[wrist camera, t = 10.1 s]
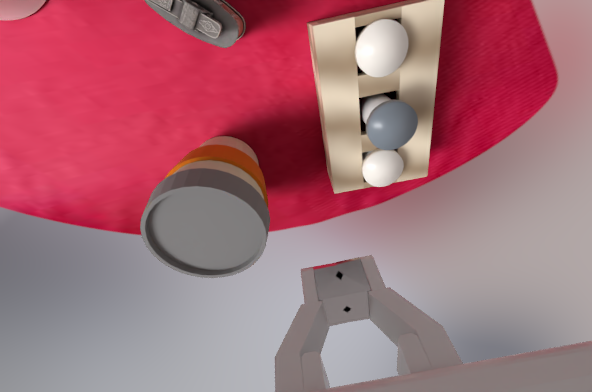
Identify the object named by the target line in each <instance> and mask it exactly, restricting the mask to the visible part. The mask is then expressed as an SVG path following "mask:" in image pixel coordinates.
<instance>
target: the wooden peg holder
mask: <svg viewBox="0 0 592 392" xmlns="http://www.w3.org/2000/svg"><path fill="white" fill-rule="evenodd" d="M443 11H444V0H408V1H403V2H399V3H394V4H389V5H385V6H380V7H376V8H371V9H367V10H362V11H358V12H353V13H349V14H344V15H340V16H335V17H331V18H326V19H322V20H317V21H313V22H308V23H307V27H308V34H309V41H310V49H311V56H312V63H313V70H314V77H315V85H316V92H317V99H318V106H319V113H320V121H321V128H322V135H323V142H324V149H325V157H326V164H327V171H328V174H329V177H330V181H331V184H332V187H333V190H334V193H341V192H346V191H352V190H357V189H362V188H368V187H373V186H372V185H370V184H369V183H368V182H367V181H366V180H365V178H364V176H363V174H362V171H361V167H362V163H363V162H362V153H363V152H368V151H373V150H376V149H379V148H377V147H376V146H374V145H373V144H372V142H371V141H370V139H369V138H368V136H367V133H366V131H363V132H361V126H360V108H359V98H361V97H366V96H371V95H376V94H380V93H385V92H390V91H395V90H396V100H401V101H403V102H405V103H407V104H408V105H410V106H411V107H412V108H413V109H414V110H415V112H416V114H417V117H418V125H417V129H416V132H415V134H414V135H413V137H412V138H411V139H410V141H408V142H407V143H406V144H405V145H403V146H402V147H400V148H397V149H395V151H396V152H397V153H398V154H399V156H400V157H401V158H402V160H403V164H404V167H403V171H402V173H401V175H400V177H399V178H398V179H397V180H396V181H395V182H400V181H405V180H410V179H416V178H421V177H427V174H428V164H429V154H430V144H431V133H432V123H433V113H434V103H435V93H436V82H437V72H438V62H439V52H440V41H441V31H442V21H443ZM397 18H398V20H397V22H398V23H400V24H401V25H402V26H403V27H404V29H405V31H406V33H407V36H408V51H407V54H406V57H405V59H404V61H403V63H402V64H401V65H400V66H399V68H398V69H397V70H395V71H394V72H393V73H391V74H389V75H387V76H384V77H372V76H369V75H367V74H366V73H365V72H363V73H359V74H358V72H357V63H356V60H355V54H354V50H355V44H356V35H355V28H356V27H360V26H365V25H368V24H370V23H371V22H373V21H376V20H379V19H389V20H392V19H397ZM393 183H394V182H393Z"/></svg>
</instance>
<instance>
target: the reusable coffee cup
mask: <svg viewBox="0 0 592 392" xmlns="http://www.w3.org/2000/svg"><path fill="white" fill-rule="evenodd" d="M269 224H270V216H269V210H268V198H267V192H266V186H265V181H264V176H263V174H262V171H261V169H260V168H259V163H258V159H257V156H256V154H255V153H254V151H253V150H252V149H251V148H250V146H249V145H247V144H246V143H245V142H243V141H241V140H239V139H237V138H233V137H228V136H218V137H214V138H211V139H209V140H207V141H206V142H204V143H203V144H202V145H201V146H200V147H199V148H197V149H195V150H193V151H191V152H190V153H189V154H187V155H186V156H185V157H184V158H183V159H182V160H181V161H180V162H179V163H178V164H177V165H176V166H175V167H174V168H173V169H172V170H171V171H170V172H169V173H168V174H167V176H166V177H165V179H164V180H163V181H162V182H160V183H159V184H158V185H157V187H156V188H155V189H154V191H153V192H152V194H151V196H150V199H149V201H148V203H147V206H146V208H145V210H144V213H143V215H142V218H141V226H140V229H141V234H142V238H143V240H144V242H145V244H146V247H147V248H148V249H149V250H150V252H151V253H152V254H153V255H154V256H155V257H156V258H157V259H158V260H159V261H161V262H162V263H164V264H165V265H167V266H168V267H170V268H172V269H174V270H176V271H179V272H182V273H185V274H188V275H191V276H197V277H205V278H217V277H225V276H230V275H234V274H237V273H240V272H242V271H244V270H246V269H247V268H249V267H251V266H252V265H253V264H254V263H255V262H256V261H257V260H258V259H259V258H260V256H261V255H262V253H263V251H264V249H265V246H266V241H267V236H268V231H269Z"/></svg>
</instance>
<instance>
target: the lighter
mask: <svg viewBox="0 0 592 392" xmlns="http://www.w3.org/2000/svg"><path fill="white" fill-rule="evenodd" d="M145 2H146V3H147V4H148V5H149V6H150V7H151V8H152V9H153V10H155V11H156V12H157V13H158V14H160V15H161V16H162V17H163V18H165V19H166V20H167V21H169V22H170V23H172V24H173V25H175V26H176V27H178V28H179V29H181V30H183V31H184V32H186V33H188V34H190V35H192V36H194V37H196V38H198V39H200V40H202V41H205V42H207V43H210V44H213V45H216V46H219V47H223V48H227V47H230V46H232V45H233V44H234V43H235V42H236V40H238V39H239V38H241V37H242V36H243V34H244V32H245V29H246V23H245V20H244V18H243V16H242V15H241V14H240V13H239V12H238V11H237V10H235V9H234V8H233V7H232V6H231V5H230V4H229V3H227V2H226V1H225V0H145Z"/></svg>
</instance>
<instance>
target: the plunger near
mask: <svg viewBox="0 0 592 392" xmlns="http://www.w3.org/2000/svg"><path fill="white" fill-rule="evenodd" d="M355 35H356V44H355V50H354V54H355V60H356V63H357V65H358V66H359V68H360V69H361V70H362V71H363V72H365V73H366V74H367V75H369V76H372V77H384V76H387V75H389V74H391V73H393V72H394V71H395V70H397V69H398V68H399V66H400V65H401V64H402V63H403V61H404V59H405V57H406V54H407V51H408V36H407V33H406V31H405V29H404V27H403V26H402V25H401V24H400V23H398V22H396V21H394V20H389V19H379V20H376V21H373V22H371V23H370V24H368V25H365V26H360V27H356V28H355Z"/></svg>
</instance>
